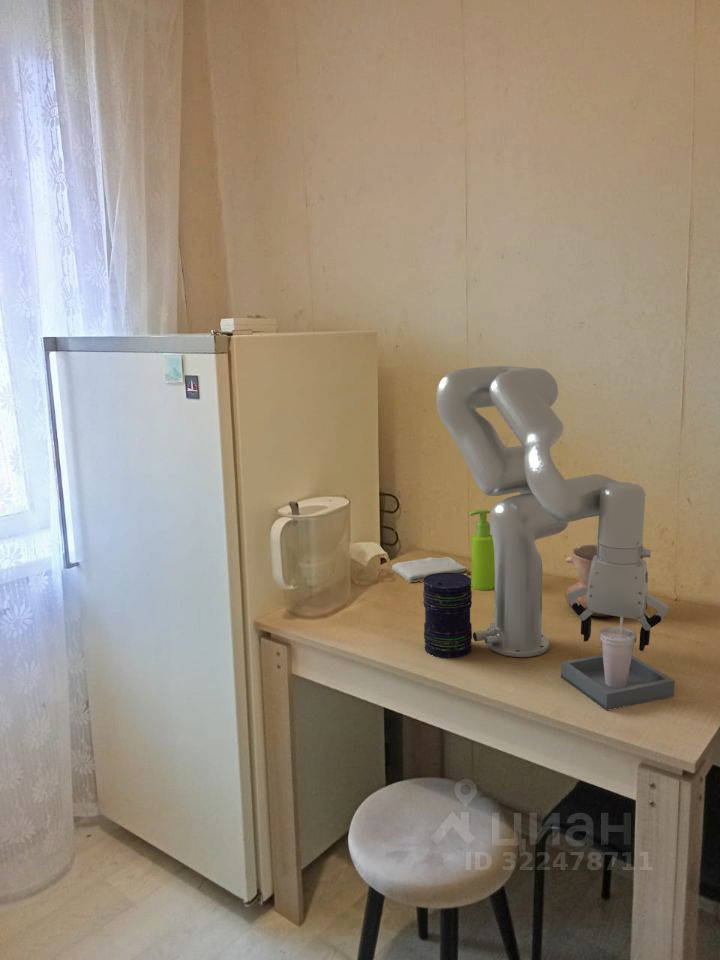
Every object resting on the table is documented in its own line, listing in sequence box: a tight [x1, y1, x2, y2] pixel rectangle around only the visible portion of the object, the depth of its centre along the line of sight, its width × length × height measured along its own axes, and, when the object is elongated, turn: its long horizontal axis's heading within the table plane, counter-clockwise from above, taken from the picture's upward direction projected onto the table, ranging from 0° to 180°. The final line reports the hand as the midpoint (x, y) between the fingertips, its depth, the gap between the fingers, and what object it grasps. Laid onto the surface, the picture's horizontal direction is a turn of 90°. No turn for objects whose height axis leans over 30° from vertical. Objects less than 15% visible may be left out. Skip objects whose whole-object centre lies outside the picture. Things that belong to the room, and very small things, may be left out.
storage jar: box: [422, 572, 473, 660], centre depth 159 cm, size 10×10×15 cm
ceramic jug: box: [564, 544, 614, 618], centre depth 177 cm, size 18×14×14 cm
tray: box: [560, 654, 676, 711], centre depth 141 cm, size 14×14×3 cm
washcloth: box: [391, 556, 468, 583], centre depth 210 cm, size 12×18×3 cm, turn 111°
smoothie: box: [598, 617, 637, 688], centre depth 140 cm, size 6×6×14 cm
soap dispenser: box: [467, 509, 495, 591], centre depth 196 cm, size 6×7×20 cm
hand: (614, 643), depth 141 cm, fingers open, 9 cm apart
